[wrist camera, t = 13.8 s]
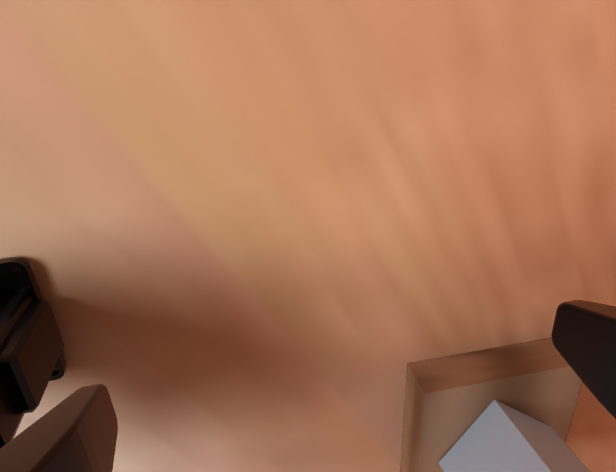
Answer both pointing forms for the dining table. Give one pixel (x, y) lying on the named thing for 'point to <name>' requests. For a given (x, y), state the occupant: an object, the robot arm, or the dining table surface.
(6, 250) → the dining table surface
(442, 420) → the brown square tray
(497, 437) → the tin
